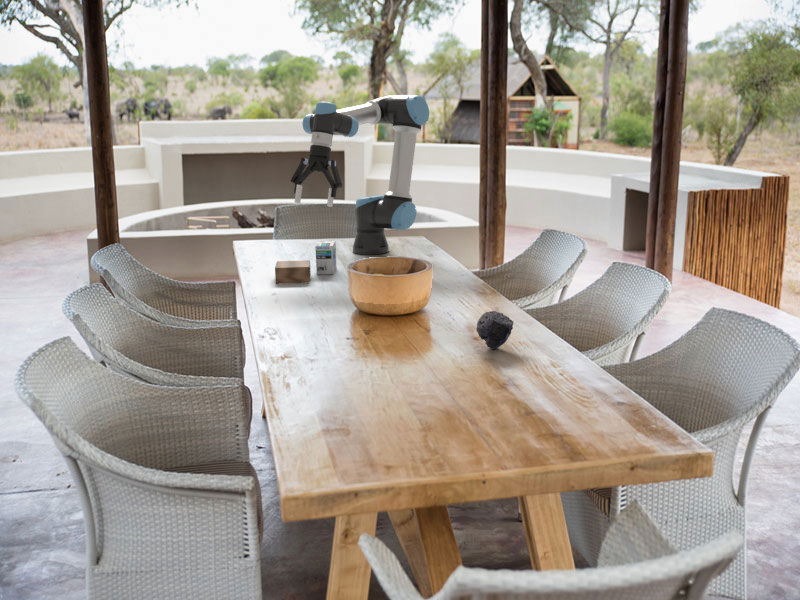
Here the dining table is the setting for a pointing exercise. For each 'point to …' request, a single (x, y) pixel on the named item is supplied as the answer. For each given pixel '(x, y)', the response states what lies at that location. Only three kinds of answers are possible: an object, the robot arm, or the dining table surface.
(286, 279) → the walnut block
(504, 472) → the dining table surface
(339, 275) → the dining table surface
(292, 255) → the dining table surface
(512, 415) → the dining table surface
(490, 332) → the pumice stone
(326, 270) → the light bulb box
